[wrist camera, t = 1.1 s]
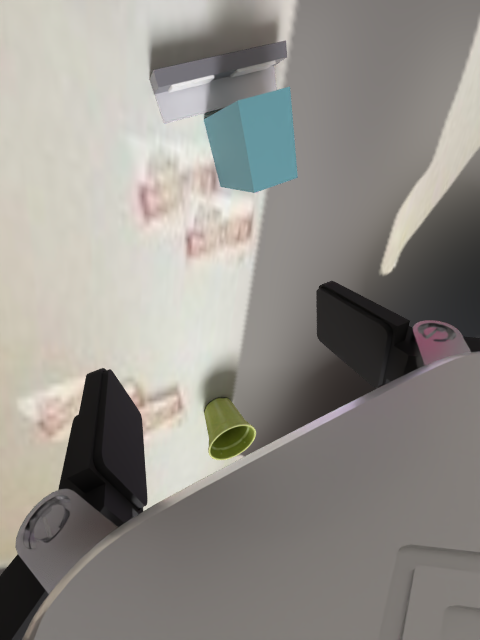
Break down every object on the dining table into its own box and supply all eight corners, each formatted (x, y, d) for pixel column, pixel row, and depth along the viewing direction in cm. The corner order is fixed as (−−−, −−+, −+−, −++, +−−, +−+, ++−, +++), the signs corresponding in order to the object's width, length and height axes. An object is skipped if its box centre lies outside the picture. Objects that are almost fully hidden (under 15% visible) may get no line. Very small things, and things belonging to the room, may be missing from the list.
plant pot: (245, 405, 56) (262, 438, 49) (209, 429, 56) (223, 466, 49) (227, 383, 51) (244, 416, 44) (187, 410, 50) (199, 449, 43)
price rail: (149, 79, 25) (153, 69, 23) (271, 51, 28) (285, 40, 25) (164, 123, 27) (168, 119, 25) (275, 93, 30) (289, 87, 27)
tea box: (220, 186, 32) (254, 192, 25) (203, 119, 28) (237, 100, 20) (255, 174, 33) (298, 177, 26) (244, 108, 29) (291, 86, 21)
